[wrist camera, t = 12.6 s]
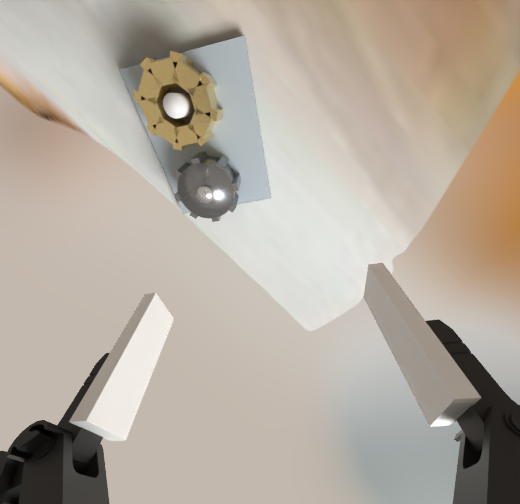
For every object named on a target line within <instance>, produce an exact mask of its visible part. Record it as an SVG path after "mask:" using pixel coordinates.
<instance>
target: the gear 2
mask: <svg viewBox="0 0 520 504" xmlns="http://www.w3.org/2000/svg"><path fill="white" fill-rule="evenodd" d="M190 160H191V163H192V164H191V165H190V164H189V163H187V162H186V163H185V164H184V165H182V166H181V167H180V168H179V169H178V170H177V171H176V173H175V175H174V178H176V179H177V180H178V187H177V188H178V191H177V192H176V193H175V194H174V195H175V198H176V200H177V202H179V201H182V203H183V204H184V206H185V207H186V208H187V209H188V210H189V211H191V214H190V216H192V217H194V218H197V216H200V217H204V218H212V221H213V222H214V221H220V218H221V215H223V214H225V213H226V212H227V211H228V210H229V211H231V212H233V211H234V209H235V208H236V205H237V201H238V197H239V195H237V194H236V193H235V192H236V191H239V187H240V183H241V178H240V174H235V173H234V171H233V169H232V168H231V166H230V165H229V164H228V161H229V158H227V157H226V156H224V155H222V157H221V158H218V157H215V156H207V153H206V151H202V152H198V153H197V154H196V155H195V156H194V157H193V158H191V159H190Z"/></svg>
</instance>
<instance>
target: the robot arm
mask: <svg viewBox="0 0 520 504" xmlns="http://www.w3.org/2000/svg"><path fill="white" fill-rule="evenodd" d="M364 299H365V301H366V302H367V304H368V307H369V308H370V310H371V312H372V314H373V316H374V318H375V320H376V322H377V324H378V326H379V328H380V330H381V332H382V334H383V336H384V338H385V340H386V342H387V344H388V346H389V347H390V349H391V351H392V353H393V355H394V357H395V359H396V361H397V363H398V365H399V367H400V369H401V371H402V373H403V375H404V377H405V379H406V381H407V383H408V385H409V387H410V388H411V390H412V392H413V394H414V396H415V398H416V400H417V402H418V404H419V406H420V408H421V410H422V412H423V414H424V416H425V418H426V420H427V422H428V423H429V425H430V426H448V425H449V426H450V425H452V424H453V423H454V422H455V421H457V422H458V423H459V425H460V426H461V428H462V430H461V431H460V432H459V433H458V434H457V435H456V437H455V439H454V440H456V441H457V442H458V441H460V450H459V458H458V465H457V474H456V482H455V490H454V499H453V504H520V405H518V404H516V403H515V402H514V401H513V400H511V399H510V398H509V396H508V395H507V394H506V393H505V392H504V391H503V390H502V389H501V388H500V386H499V385H498V384H497V383H496V381H495V380H494V379H493V378H492V377H491V375H490V374H489V373H488V372H487V371H486V369H485V368H484V367H483V366H482V364H481V363H480V362H479V361H478V360H477V358H476V357H475V356H474V355H473V354H471V352H470V350H469V349H468V348H467V346H466V345H465V344H463V343H462V340H461V339H460V338H459V337H458V335H457V334H456V333H455V332H454V331H453V329H451V328H450V327H449V326H447V325H446V324H444V323H443V322H442V321H440V320H431V321H425V320H424V319H423V317H422V316H421V315H420V313H419V312H418V311H417V309H416V308H415V307H414V305H413V304H412V302H411V301H410V300H409V298H408V297H407V295H406V294H405V293H404V292H403V290H402V289H401V287H400V286H399V285H398V283H397V282H396V280H395V279H394V278H393V276H392V275H391V274H390V272H389V271H388V270H387V268H386V267H385V265H384V264H383V263H378V264H370V265H368V272H367V278H366V285H365V292H364ZM173 320H174V318H173V317H172V316H171V314H170V313H169V311H168V310H167V308H166V307H165V305H164V304H163V303H162V301H161V300H160V298H159V297H158V295H157V294H156V293H152V294H145V295H144V297H143V298H142V300H141V302H140V303H139V305H138V307H137V309H136V310H135V312H134V314H133V315H132V317H131V319H130V320H129V322H128V324H127V325H126V327H125V329H124V330H123V332H122V334H121V335H120V337H119V339H118V340H117V342H116V344H115V345H114V347H113V349H112V350H111V352H110V353H106V354H105V355H104V356H103V357H102V358H101V359H100V360H99V362H97V363H96V365H95V366H94V368H93V370H92V371H91V373H90V376H89V377H88V378H87V379H86V381H85V383H84V386H82V387H81V389H80V390H79V392H78V394H77V396H76V397H75V399H74V400H73V402H72V403H71V405H70V407H69V408H68V410H67V411H66V413H65V415H64V416H63V418H62V419H61V421H60V422H59V424H58V425H54V424H52V423H49V422H47V421H45V420H41V421H37V422H35V423H33V424H32V425H30V426H29V427H27V428H26V429H25V430H24V431H23V432H22V433H21V434H20V435H19V436H18V437H17V438H16V439H15V440H14V442H13V443H12V445H11V447H10V448H9V450H8V452H4V451H0V504H109V497H108V488H107V480H106V471H105V462H104V453H103V447H102V445H101V444H100V443H101V440H102V438H105V439H108V440H110V441H123V440H126V438H127V435H128V433H129V431H130V428H131V426H132V423H133V421H134V418H135V416H136V413H137V411H138V408H139V406H140V403H141V400H142V398H143V395H144V393H145V390H146V388H147V385H148V383H149V380H150V378H151V375H152V373H153V370H154V368H155V365H156V363H157V360H158V358H159V355H160V353H161V350H162V348H163V345H164V343H165V340H166V338H167V335H168V333H169V330H170V328H171V325H172V322H173Z"/></svg>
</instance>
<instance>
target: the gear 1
mask: <svg viewBox="0 0 520 504" xmlns="http://www.w3.org/2000/svg"><path fill="white" fill-rule="evenodd" d="M140 65H141V67H142V68H143V70H144V71H143V75H142V78H141V82H140V86H139V89H138V90H133V92H134V100H135V102H138V103H139V104H140V106H141V108H142V111H143V113H144V115H145V118H146V120H147V122H148V126H147V127H146V128H147V129H148V130H149V132H150V133H151V134H152V135H153V136H154V135H157V134H158V135H159V136H161V137H162V138H164V139H165V140H167V141H169V142H170V143H172V144H173V149H176V150H181V151H182V150H183V149H185V148H186V147H188V146H190V145H191V144H192V143H197V142H198V144H199V145H200V146H202V145H203V144H205V143H206V142H207V141H208V140H210V139H211V138H212V137H213V136H214V135H213V134H212V133H211V132H212V130H213V128H214V125H215V123H216V122H217V121H219V120H221V119H222V118H223V109H221V108H219V106H218V102H217V98H216V94H215V90H214V88H215V87H216V86H217V83H216V82H215V80H214V78H213V77H212V76H211V75H209V74H207V73H205V72H203V73H202V74H201V73H200V72H199V71H198V70H196V69H195V68H194V67H193V60H192V59H190V58H188V57H186V56H184V55H183V54H181V53H177V52H174V51H170V58H167V59H163V60H160V61H157V60H154V59H151V58H149V57H146V58H145V59H144V60H143V61H142V63H141V64H140ZM179 87H182V88H183V89H184V90H186V91H187V92H188V93H190V97H191V100H192V103H193V106H194V110H195V112H194V114H193V117H192V119H191V122H190V123H189V124H188V123H186V122H185V121H184V120H182V119H181V118H178V119H175V118H172V117H170V116H169V115H168V114H167V113H166V111H165V110H164V107H163V99H164V97H165V95H166V94H168V93H175V90H176V88H179Z"/></svg>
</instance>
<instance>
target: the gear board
mask: <svg viewBox="0 0 520 504" xmlns="http://www.w3.org/2000/svg"><path fill="white" fill-rule="evenodd" d="M181 54H183V55H184V56H186V57H188V58H190V59H192V60H193V67H194V68H195V69H196V70H198V71H199V72H200V73H201V74H202V73H203V72H205V73H207V74H209V75H211V76H212V77H213V78H214V80H215V82H216V83H217V86H216V87H215V88H214V90H215V94H216V98H217V102H218V106H219V108H221V109H223V118H222V119H221V120H219V121H217V122H216V123H215V125H214V128H213V130H212V132H211V133H212V134H213V135H214V136H213V137H212V138H211V139H210V140H208V141H207V142H206V143H205V144H203V145H202V146H200V145H199V144H198V142H197V143H192V144H191V145H190V146H188V147H186V148H185V149H183V150H182V151H181V150H176V149H173V144H172V143H170V142H169V141H167V140H165V139H164V138H162V137H161V136H159V135H158V134H157V135H154V136H153V135H152V134H151V133H150V132H149V130H148V129H147V128H146V127H147V126H148V122H147V120H146V118H145V115H144V113H143V111H142V108H141V106H140V104H139V103H138V102H135V100H134V92H133V90H138V89H139V86H140V82H141V78H142V75H143V71H144V70H143V68H142V67H141V65H140V64H137V65H133V66H130V67H126V68H122V69H119V70H120V72H121V75H122V77H123V79H124V81H125V84H126V86H127V88H128V90H129V93H130V95H131V97H132V99H133V102H134V104H135V106H136V108H137V111H138V113H139V115H140V118H141V120H142V122H143V124H144V127H145V129H146V131H147V133H148V136H149V138H150V140H151V142H152V145H153V147H154V149H155V151H156V154H157V156H158V158H159V160H160V163H161V165H162V167H163V170H164V172H165V174H166V176H167V179H168V181H169V183H170V185H171V188H172V190H173V192H174V194H175V193H176V192H177V191H178V188H177V187H178V180H177V179H176V178H174V175H175V173H176V171H177V170H178V169H179V168H180V167H181V166H182V165H184V164H185V163H186V162H187V163H189V164H190V165H191V164H192V163H191V160H190V159H191V158H193V157H194V156H195V155H196V154H197V153H198V152H202V151H206V153H207V156H215V157H218V158H221V157H222V155H224V156H226V157H227V158H229V161H228V164H229V165H230V166H231V168H232V169H233V171H234V173H235V174H240V178H241V183H240V187H239V191H236V192H235V193H236V194H237V195H239V197H238V201H237V204H242V203H248V202H253V201H259V200H265V199H270V198H271V192H270V186H269V180H268V174H267V168H266V162H265V156H264V150H263V143H262V137H261V131H260V125H259V119H258V113H257V107H256V101H255V94H254V88H253V82H252V76H251V70H250V64H249V58H248V52H247V45H246V39H245V35H244V36H240V37H237V38H233V39H229V40H226V41H222V42H218V43H215V44H211V45H207V46H203V47H200V48H196V49H192V50H189V51H185V52H181ZM167 58H170V56H167V57H163V58H159V59H156V60H157V61H160V60H163V59H167ZM163 107H164V110H165V111H166V113H167V114H168V115H169V116H170V117H172V118H175V119H178V118H181V119H182V120H184V121H185V122H186V123H188V124H189V123H190V122H191V119H192V117H193V114H194V112H195V110H194V106H193V103H192V100H191V97H190V93H188V92H187V91H186V90H184V89H183V88H182V87H179V88H176V90H175V93H168V94H166V95H165V97H164V99H163ZM178 203H179V206H180V208H181V210H182V212H183V214H185V213H191V211H189V210H188V209H187V208H186V207H185V206H184V204H183V203H182V201H179V202H178Z"/></svg>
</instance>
